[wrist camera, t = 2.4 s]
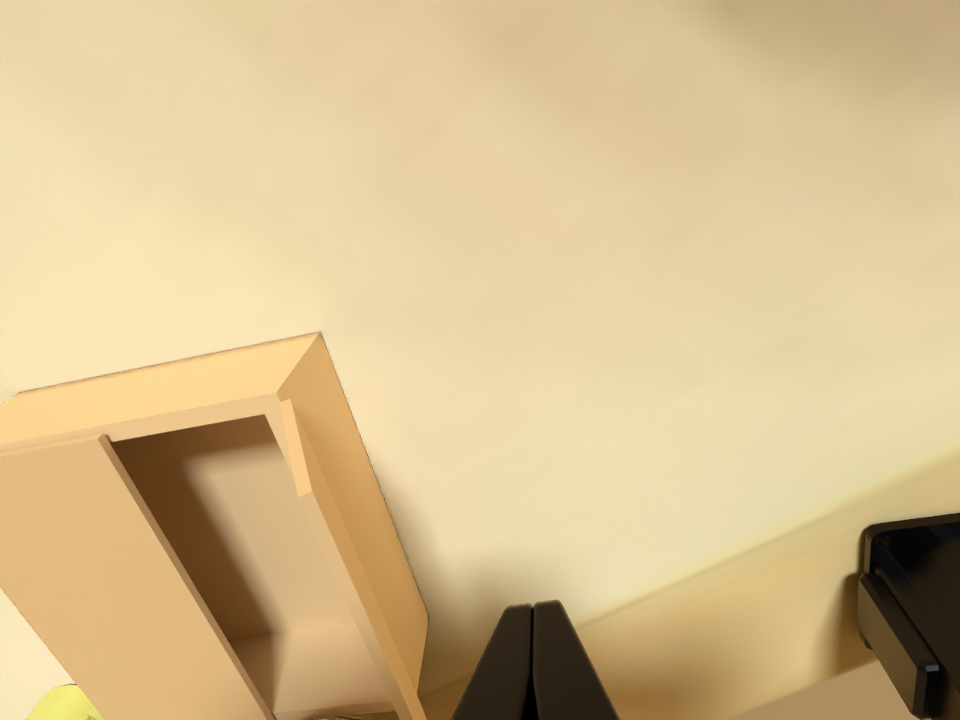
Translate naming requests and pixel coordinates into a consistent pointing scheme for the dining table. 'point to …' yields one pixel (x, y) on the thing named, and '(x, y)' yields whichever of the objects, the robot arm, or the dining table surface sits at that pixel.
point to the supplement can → (340, 718)
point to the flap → (347, 568)
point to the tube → (64, 705)
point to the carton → (199, 539)
